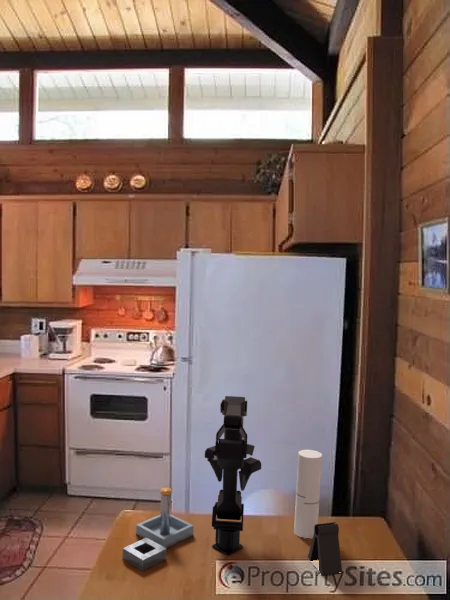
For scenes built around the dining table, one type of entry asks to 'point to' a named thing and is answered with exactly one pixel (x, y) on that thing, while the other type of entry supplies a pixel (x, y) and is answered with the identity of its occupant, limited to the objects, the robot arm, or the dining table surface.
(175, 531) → the tray
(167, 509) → the pin
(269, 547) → the dining table surface
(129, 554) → the pin collar
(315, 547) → the phone stand
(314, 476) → the cylindrical container
